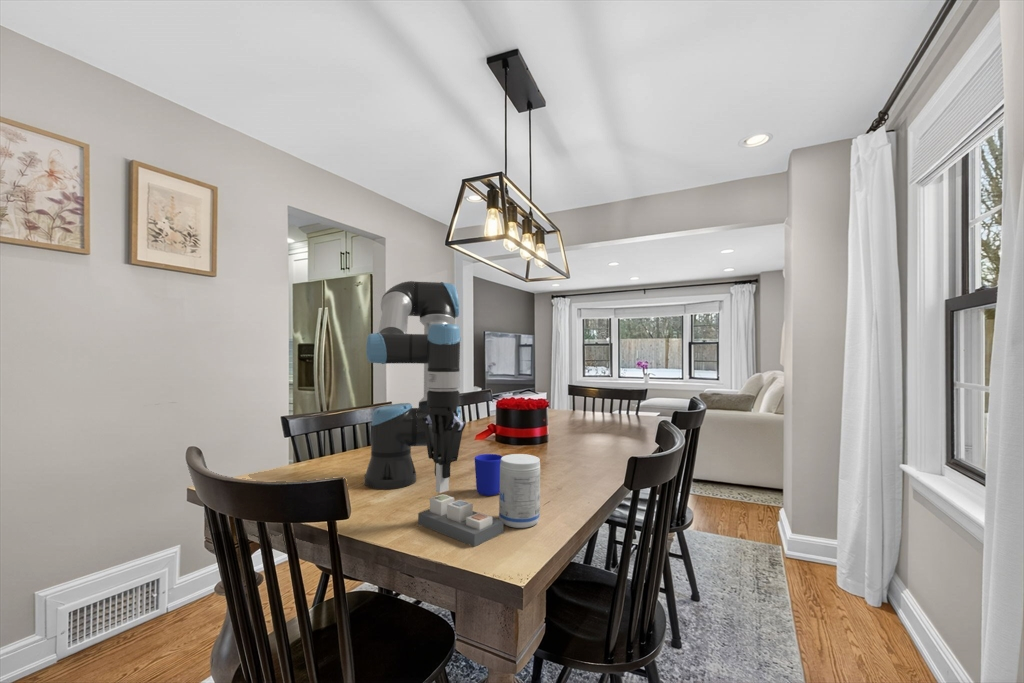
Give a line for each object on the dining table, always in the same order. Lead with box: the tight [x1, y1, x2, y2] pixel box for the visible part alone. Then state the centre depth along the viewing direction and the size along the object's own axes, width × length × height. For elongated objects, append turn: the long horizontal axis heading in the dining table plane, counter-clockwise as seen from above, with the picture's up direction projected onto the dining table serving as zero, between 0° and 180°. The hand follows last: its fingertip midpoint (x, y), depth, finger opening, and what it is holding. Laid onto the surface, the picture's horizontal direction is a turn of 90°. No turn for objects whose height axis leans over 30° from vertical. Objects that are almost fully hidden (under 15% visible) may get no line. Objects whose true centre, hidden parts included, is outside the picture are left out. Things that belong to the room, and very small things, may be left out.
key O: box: [466, 512, 493, 530], centre depth 93 cm, size 4×4×3 cm
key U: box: [447, 499, 474, 523], centre depth 97 cm, size 4×4×3 cm
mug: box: [474, 453, 504, 497], centre depth 121 cm, size 8×12×10 cm
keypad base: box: [417, 508, 504, 547], centre depth 97 cm, size 18×9×2 cm, turn 51°
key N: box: [429, 494, 455, 516], centre depth 100 cm, size 4×4×3 cm
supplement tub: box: [498, 453, 541, 529], centre depth 101 cm, size 10×10×15 cm
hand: (442, 490), depth 100 cm, fingers closed
